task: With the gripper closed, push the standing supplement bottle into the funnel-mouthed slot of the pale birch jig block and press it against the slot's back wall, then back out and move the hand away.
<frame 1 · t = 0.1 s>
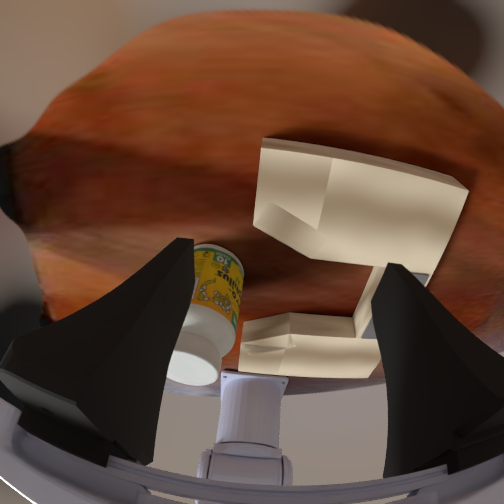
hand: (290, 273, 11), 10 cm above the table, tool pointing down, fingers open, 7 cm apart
supplement bottle: (212, 267, 24), on the table
jig block: (333, 282, 24), on the table
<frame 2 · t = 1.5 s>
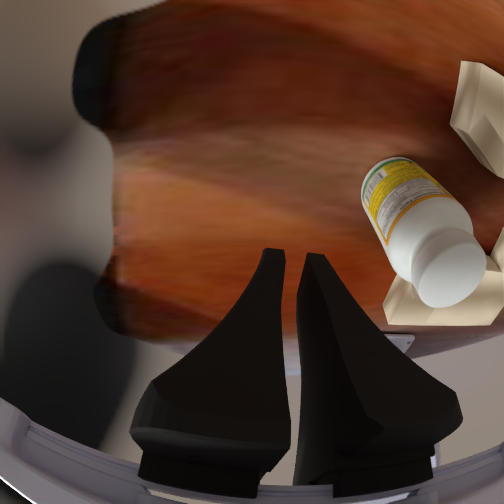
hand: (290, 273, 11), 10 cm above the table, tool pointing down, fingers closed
supplement bottle: (393, 189, 19), on the table
jig block: (487, 214, 19), on the table
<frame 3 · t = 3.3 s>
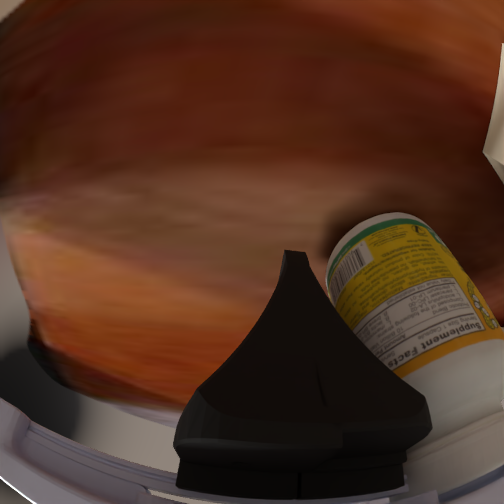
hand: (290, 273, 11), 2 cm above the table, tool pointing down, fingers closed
supplement bottle: (381, 261, 12), on the table, touching gripper
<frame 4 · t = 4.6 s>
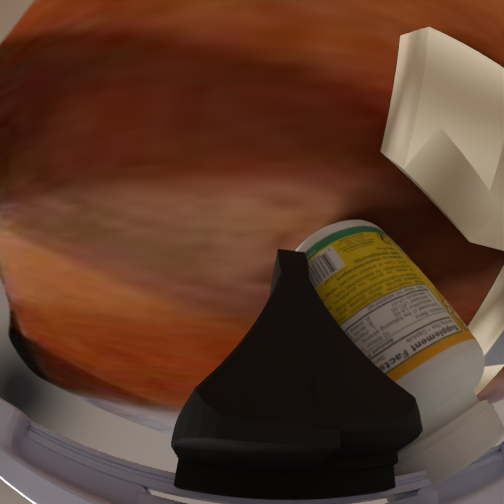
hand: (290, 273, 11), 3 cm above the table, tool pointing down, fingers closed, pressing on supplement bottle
supplement bottle: (334, 266, 13), point 1 cm above the table, touching gripper
jig block: (456, 289, 13), on the table
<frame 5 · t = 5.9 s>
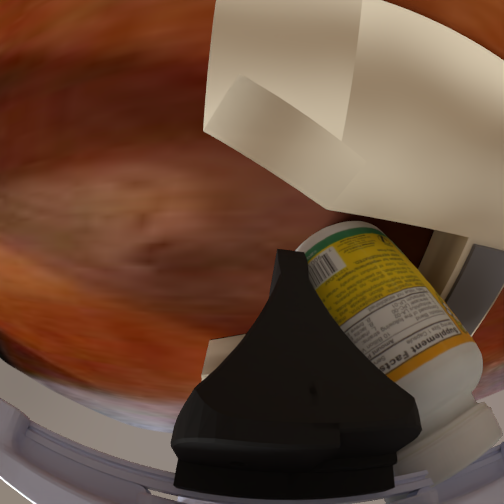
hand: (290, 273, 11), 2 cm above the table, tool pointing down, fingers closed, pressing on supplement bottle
supplement bottle: (334, 267, 13), on the table, touching gripper
jig block: (360, 274, 13), on the table
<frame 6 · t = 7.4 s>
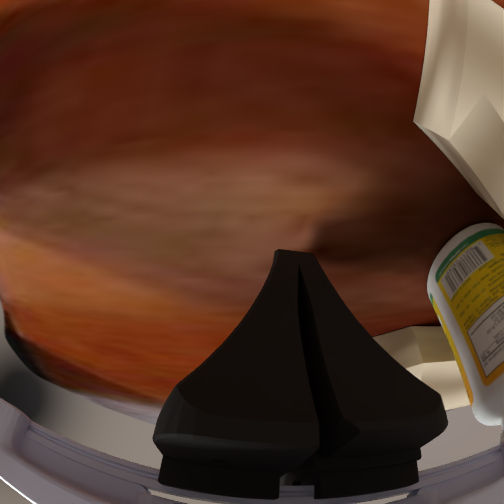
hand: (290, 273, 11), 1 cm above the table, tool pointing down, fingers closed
supplement bottle: (467, 264, 12), on the table
jig block: (483, 274, 12), on the table
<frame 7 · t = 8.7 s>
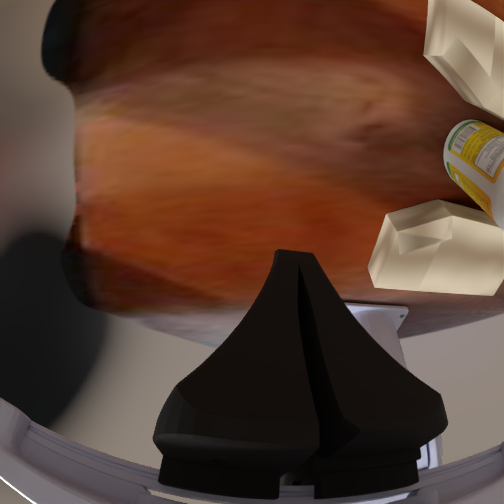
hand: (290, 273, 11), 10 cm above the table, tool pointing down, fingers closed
supplement bottle: (467, 151, 16), on the table
jig block: (480, 161, 16), on the table
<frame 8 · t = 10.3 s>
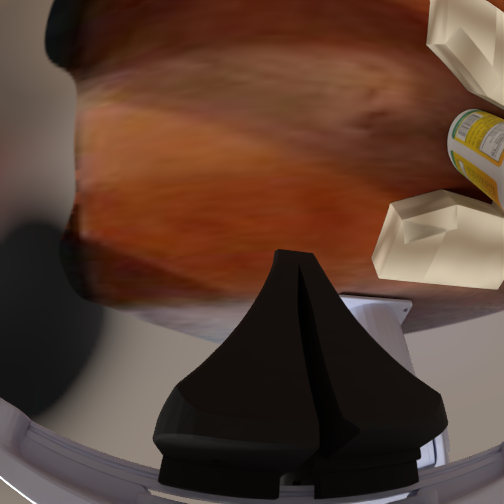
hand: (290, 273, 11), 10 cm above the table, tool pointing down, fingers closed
supplement bottle: (470, 141, 16), on the table
jig block: (483, 152, 16), on the table
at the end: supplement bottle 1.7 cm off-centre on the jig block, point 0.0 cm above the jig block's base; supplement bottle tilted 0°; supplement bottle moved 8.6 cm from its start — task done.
